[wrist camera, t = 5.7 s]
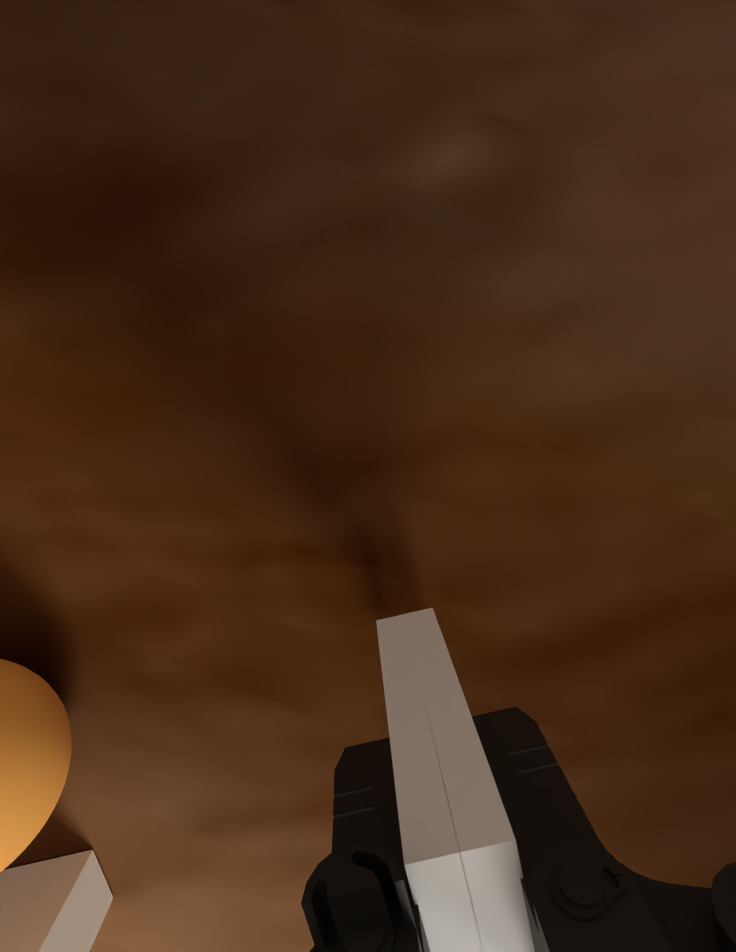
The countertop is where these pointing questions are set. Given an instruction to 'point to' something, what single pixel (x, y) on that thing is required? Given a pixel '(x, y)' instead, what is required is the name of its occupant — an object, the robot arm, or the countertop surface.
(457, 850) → the robot arm
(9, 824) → the ball
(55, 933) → the bridge
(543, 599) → the countertop surface
